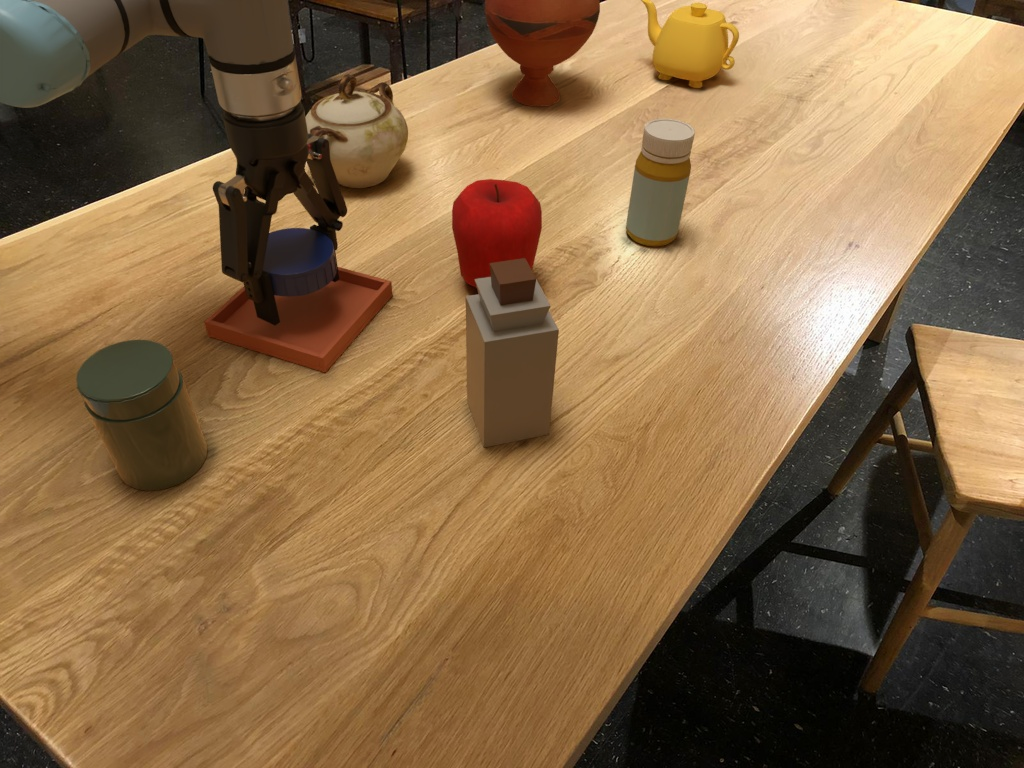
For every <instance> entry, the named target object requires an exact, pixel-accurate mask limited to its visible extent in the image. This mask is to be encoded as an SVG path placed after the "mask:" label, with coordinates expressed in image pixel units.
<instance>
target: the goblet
mask: <svg viewBox="0 0 1024 768" xmlns="http://www.w3.org/2000/svg"><path fill="white" fill-rule="evenodd" d="M484 14H485V19H486V20H485V21H486V24H487V27H488V30H489V33H490V35H491V37H492V39H493V40H494V41H495V43H496V45H498V47H499V48H500V49H501V51H502V52H503V53H504V54H505V55H506V56H507V57H508V58H510V59H511V60H512V61H514V62H515V63H516V64H518V65H519V71H520V73H521V74H522V75H523V76H522V78H521V79H520V80H519V82H518V81H517V84H515V87H514V88H513V90H512V91H511V97H512V99H513V100H514V101H515V102H517V103H519V104H520V105H524V106H528V107H529V106H530V107H538V108H539V107H540V108H541V107H549V106H552V105H554V104H558V102H559V101H560V98H561V94H560V91H559V89H558V87H557V86H556V85H555V82H553V80H552V78H551V76H550V75H551V74H552V73H553V72H554V70H555V68H554V67H555V66H558V65H559V64H562V63H563V62H565V61H567V60H569V59H570V58H572V57H573V56H574V55H575V54H577V53H578V52H579V51H580V50H581V49H582V48H583V46H584V45H585V44H586V43H587V42H588V40H589V39H590V38H591V36H592V35H593V33H594V31H595V29H596V27H597V24H598V21H599V17H600V14H601V0H484Z"/></svg>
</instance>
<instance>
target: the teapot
mask: <svg viewBox="0 0 1024 768" xmlns="http://www.w3.org/2000/svg"><path fill="white" fill-rule="evenodd" d="M640 1H641V2H642V3H643V5H644V6H645V8H646V11H647V35H648V39H649V41H650V43H651V44H652V46H654V47H653V51H652V63H653V66H654V68H655V70H656V71H657V72H658V73H659V74H658V76H657V78H658V79H659V80H662V81H670V80H672V78H677V79H682V80H686V81H688V86H689V87H691V88H696V89H700V88H702V87H703V81H705V80H708V79H711V78H712V77H715V76H716V75H717V74H718V73H719V72H720V70H721V69H722V70H731V69H732V68H733V67H734V66H735V62H736V60H735V58H734V56H730V55H731V54H732V52H733V51H734V49H735V47H736V46H737V44H738V42H739V39H740V32H739V29H738V28H737V26H735V25H734V23H731V22H727V21H726V20H727V19H726V16H725V14H724V13H723V12H722V11H718V10H715V9H711V8H708V5H707V4H706V3H703V2H692V3H691V4H690V5H685V6H681V7H678V8H677V9H674V10H673V11H672V12H671V13H670V14H669V16H668V17H667V19H666V20H665V23H664V24H663V26H662V27H661V25H660V24H659V23H660V22H659V20H658V11H657V8H656V7H657V6H656V5H655V3H654V2H653V1H651V0H640ZM728 31H730V32H731V34H732V39H731V42H730V44H729V34H728V33H729V32H728ZM727 61H729V63H727Z"/></svg>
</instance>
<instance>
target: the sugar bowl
mask: <svg viewBox="0 0 1024 768" xmlns="http://www.w3.org/2000/svg"><path fill="white" fill-rule="evenodd" d="M357 84H358V82H357V78H356V76H354V75H352V74H349V73H347V74H345V75H343V76H342V78H341V80H340V82H339V85H338V92H337V93H336V92H335V93H332V94H329V95H327V96H324V97H322V98H320V99H318V100H317V101H316V102H315V103H314V104H313V105H312V106H311V109H309V111H308V112H307V114H305V118H306V124H307V131H308V134H312V135H315V136H318V137H321V138H324V139H327V140H328V141H329V147H330V160H331V163H332V166H333V169H334V172H335V175H336V178H337V181H338V184H339V186H340V185H341V186H342V187H346V188H351V189H366V188H369V187H373V186H377V185H379V184H381V183H383V182H384V181H385V180H386V179H387V178H388V177H389V175H390V173H391V172H392V171H393V169H394V168H395V166H396V165H397V163H398V162H399V160H400V159H401V157H402V155H403V154H404V151H405V149H406V147H407V144H408V140H409V139H408V138H409V128H408V124H407V121H406V118H405V116H404V115H403V113H402V112H401V110H400V109H399V108H397V107H396V106H395V104H394V102H393V101H394V94H393V93H394V92H393V90H392V87H391V86H390V85H389V84H388V83H386V82H383V81H382V82H379V83H377V84H376V85H375V86H373V87H371V88H370V89H369V90H367V91H355V90H356V86H357ZM378 93H379V94H378Z"/></svg>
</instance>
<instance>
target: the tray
mask: <svg viewBox="0 0 1024 768" xmlns="http://www.w3.org/2000/svg"><path fill="white" fill-rule="evenodd" d="M338 273H339V280H338V281H336V282H333V281H331V282H330V283H329V284H328V285H327V286H325V287H324V288H322V289H320V290H318V291H316V292H313V293H310V294H306V295H301V296H293V297H285V296H276V295H274V296H275V301H276V305H277V310H278V315H279V319H280V323H278V324H277V325H276V326H275V325H273V324H271V323H269V322H266V321H264V320H262V319H260V318H258V317H257V314H256V310H255V306H254V302H253V301H252V300H250V299H249V298H248V297H247V295H246V291H245V287H244V286H242V287H241V288H240V289H239V290H237V292H235V294H233V295H232V296H231V297H230V298H229V299H228V300H226V301H225V303H223V304H222V305H221V306H219V308H218V309H217V310H215V311H214V312H213V313H212V314H210V315H209V317H207V318H206V319H205V320H204V321H203V324H204V327H205V330H206V334H207V337H209V338H213V339H215V340H219V341H221V342H226V343H227V344H228V343H229V344H232V345H236V346H238V347H241V348H243V349H247V350H251V351H255V352H258V353H260V354H261V353H262V354H264V355H267V356H270V357H273V358H277V359H280V360H284V361H286V362H289V363H293V364H296V365H299V366H303V367H306V368H309V369H313V370H316V371H319V372H322V373H327V372H328V370H329V369H330V368H331V367H332V366H333V365H334V363H336V361H337V360H338V359H339V358H340V357H341V355H342V354H343V353H344V352H345V351H346V349H348V347H349V346H350V345H351V344H352V343H353V342H354V340H355V339H356V338H357V337H358V336H359V335H360V334H361V332H362V331H363V330H364V329H365V328H366V327H367V325H369V323H370V322H371V321H372V320H373V319H374V317H375V316H377V314H378V313H379V312H380V310H381V309H382V308H383V307H384V306H385V305H386V303H387V302H389V300H390V299H391V298H392V297H393V295H394V293H393V285H392V281H391V280H388V279H385V278H381V277H377V276H373V275H369V274H366V273H362V272H359V271H355V270H351V269H347V268H345V267H340V266H338Z"/></svg>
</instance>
